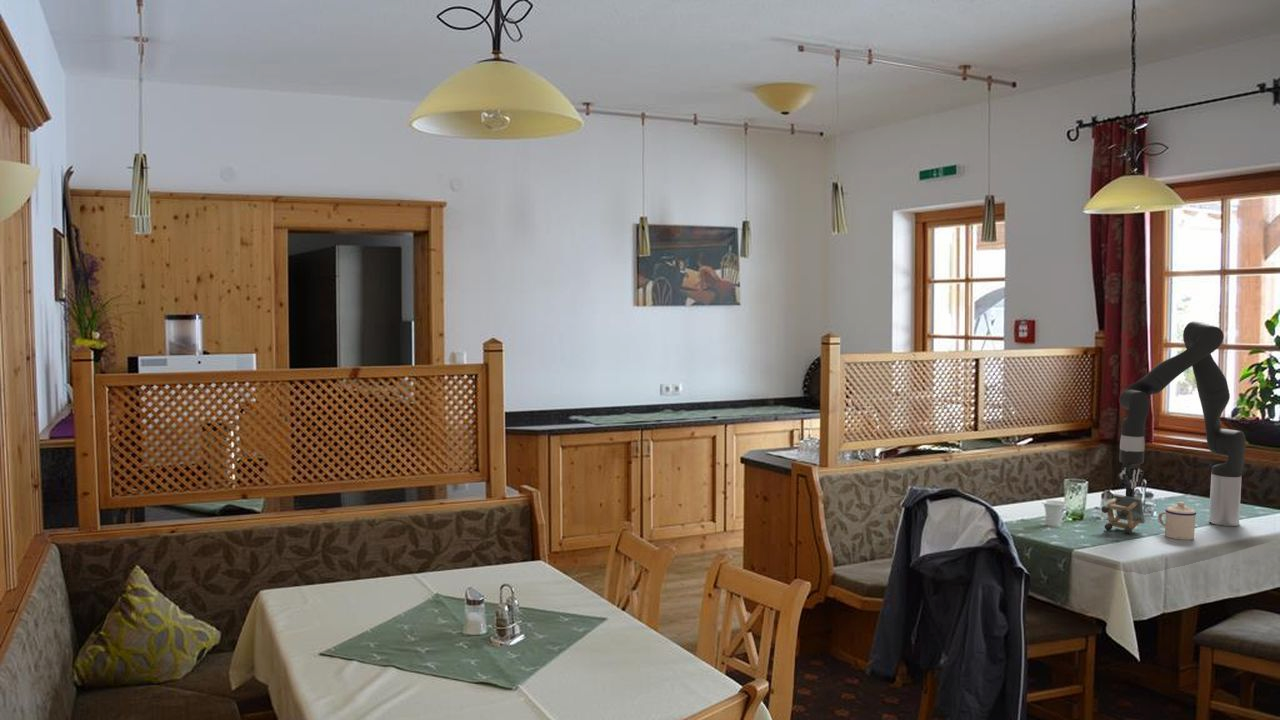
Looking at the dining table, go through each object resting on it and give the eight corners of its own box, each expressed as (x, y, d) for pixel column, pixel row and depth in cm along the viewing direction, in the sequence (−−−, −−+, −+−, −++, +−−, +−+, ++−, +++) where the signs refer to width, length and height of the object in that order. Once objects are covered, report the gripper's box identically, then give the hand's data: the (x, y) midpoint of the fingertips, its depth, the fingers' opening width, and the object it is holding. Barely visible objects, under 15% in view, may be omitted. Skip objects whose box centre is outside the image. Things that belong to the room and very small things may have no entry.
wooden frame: (1119, 516, 353) (1115, 493, 350) (1144, 521, 346) (1140, 498, 343) (1105, 529, 348) (1100, 506, 346) (1130, 535, 341) (1126, 511, 338)
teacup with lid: (1200, 538, 338) (1202, 503, 337) (1184, 541, 333) (1186, 506, 332) (1165, 530, 348) (1167, 496, 347) (1150, 533, 343) (1151, 499, 343)
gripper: (1131, 445, 353) (1129, 495, 355) (1110, 448, 346) (1108, 499, 347) (1153, 448, 347) (1150, 499, 348) (1132, 452, 340) (1129, 503, 341)
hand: (1129, 499), depth 348 cm, fingers closed
